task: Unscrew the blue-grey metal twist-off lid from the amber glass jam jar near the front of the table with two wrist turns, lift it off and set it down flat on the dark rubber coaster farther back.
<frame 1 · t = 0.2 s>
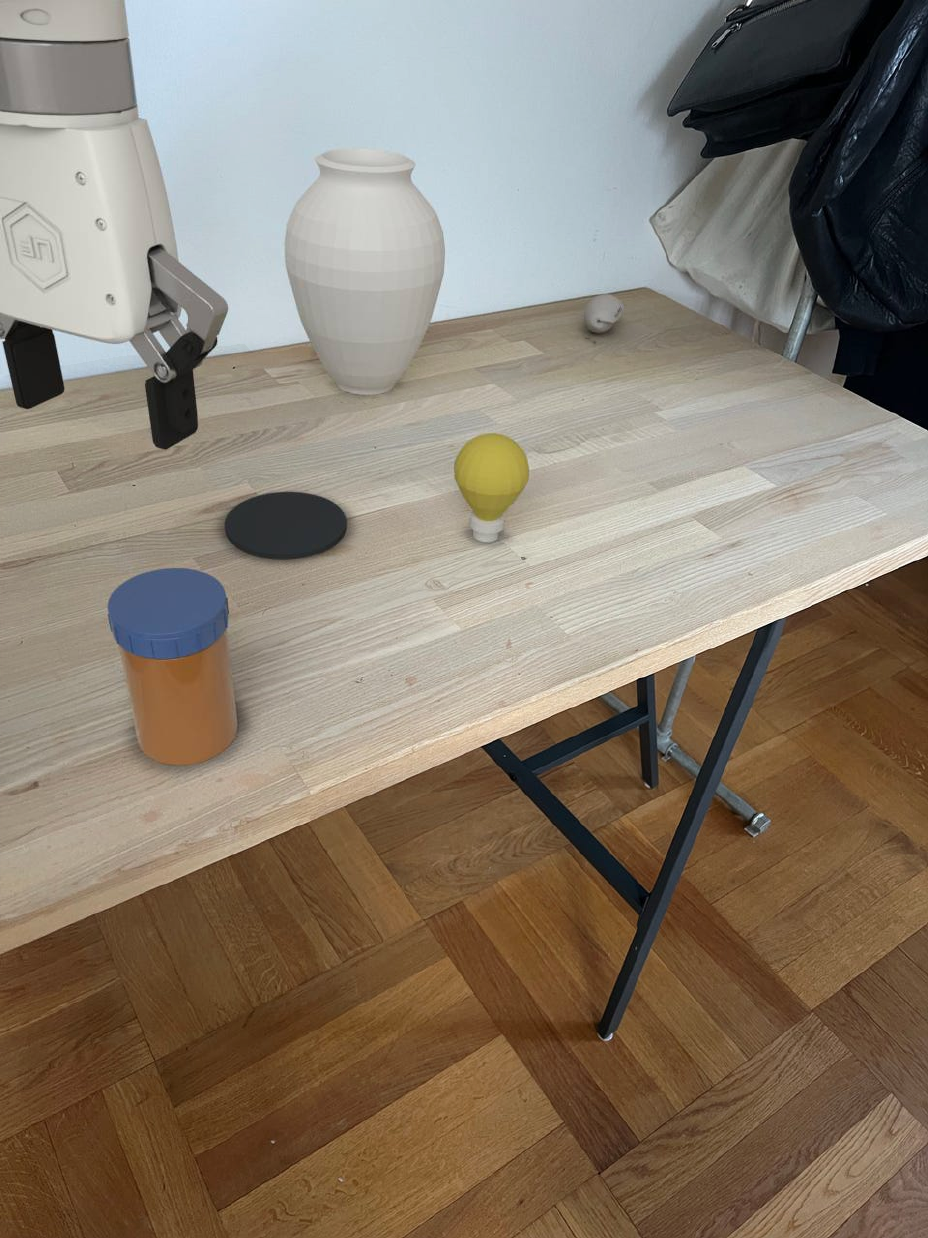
hand: (107, 419, 53), 21 cm above the table, tool pointing down, fingers open, 9 cm apart
stone: (600, 333, 132), on the table
coaster: (286, 526, 85), on the table
vase: (365, 384, 113), on the table
jar: (188, 730, 63), on the table
light bulb: (485, 537, 86), on the table
lid: (168, 604, 57), point 11 cm above the table, screwed on, not yet turned
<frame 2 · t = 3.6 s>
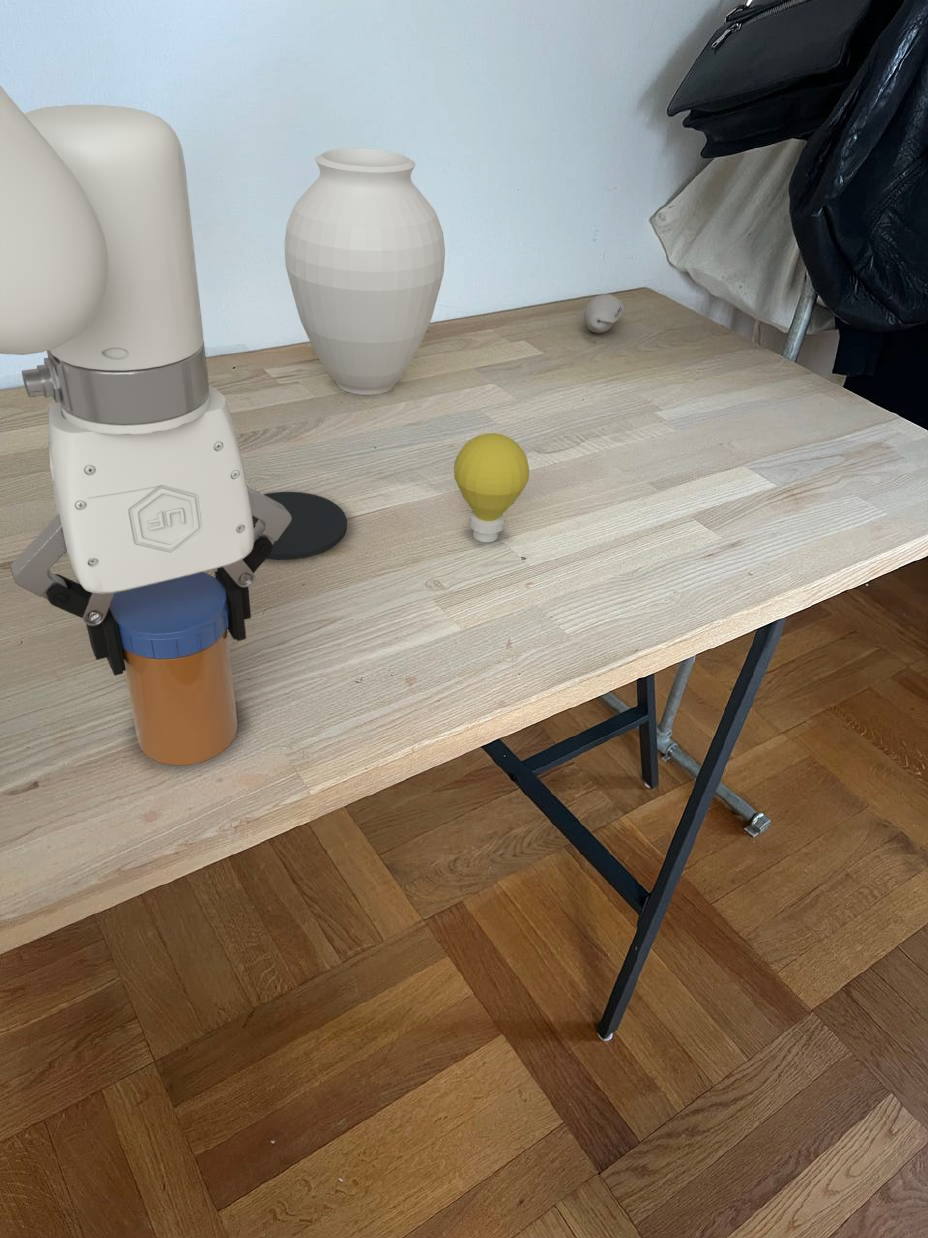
hand: (175, 643, 59), 8 cm above the table, tool pointing down, fingers closed on lid, 7 cm apart
lid: (168, 604, 57), point 11 cm above the table, screwed on, not yet turned, touching gripper
everything else where it was.
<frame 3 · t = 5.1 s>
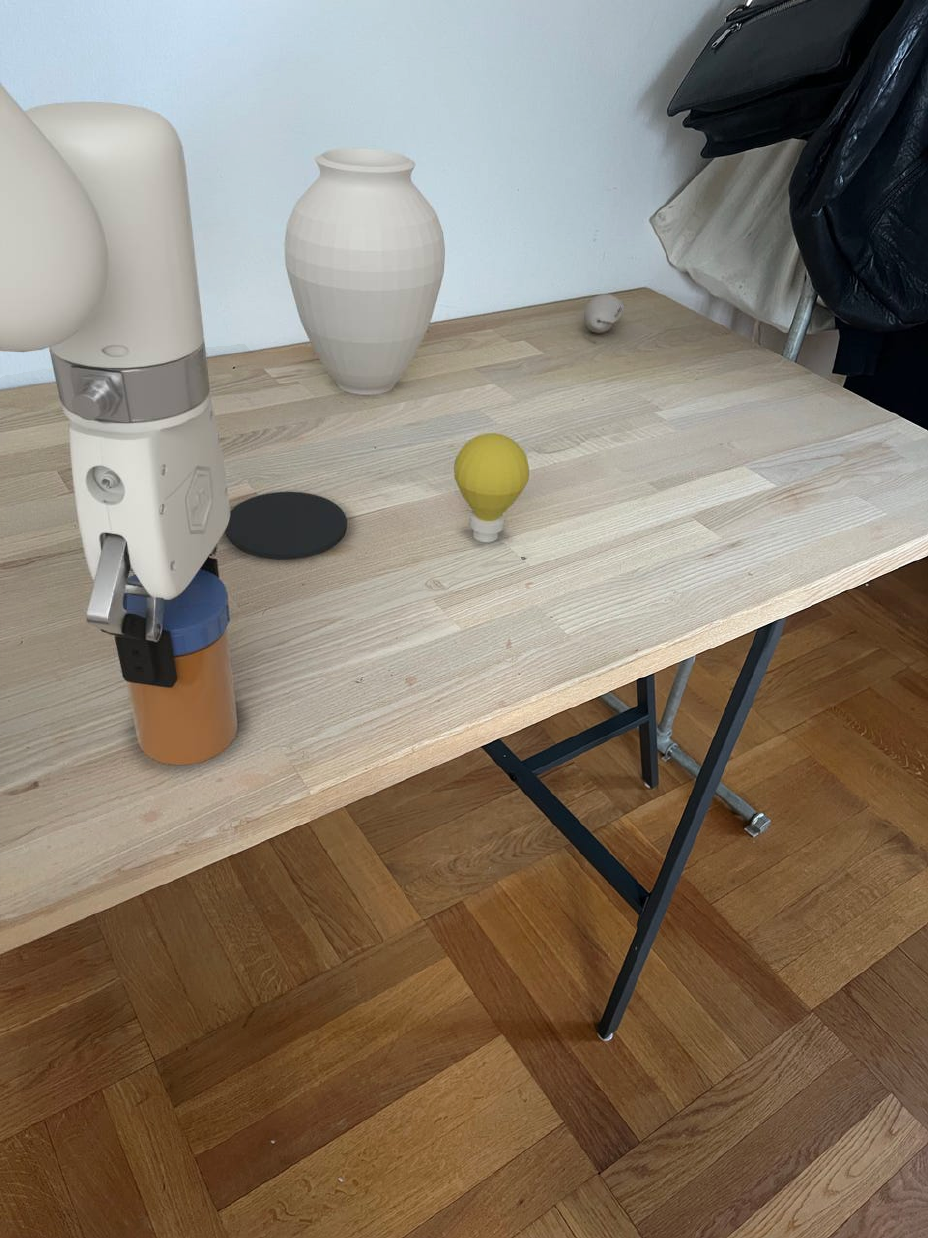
hand: (175, 641, 59), 8 cm above the table, tool pointing down, fingers closed on lid, 7 cm apart
lid: (169, 602, 57), point 11 cm above the table, turned 51° so far, risen 0.1 cm, still on its thread, touching gripper
everything else where it was.
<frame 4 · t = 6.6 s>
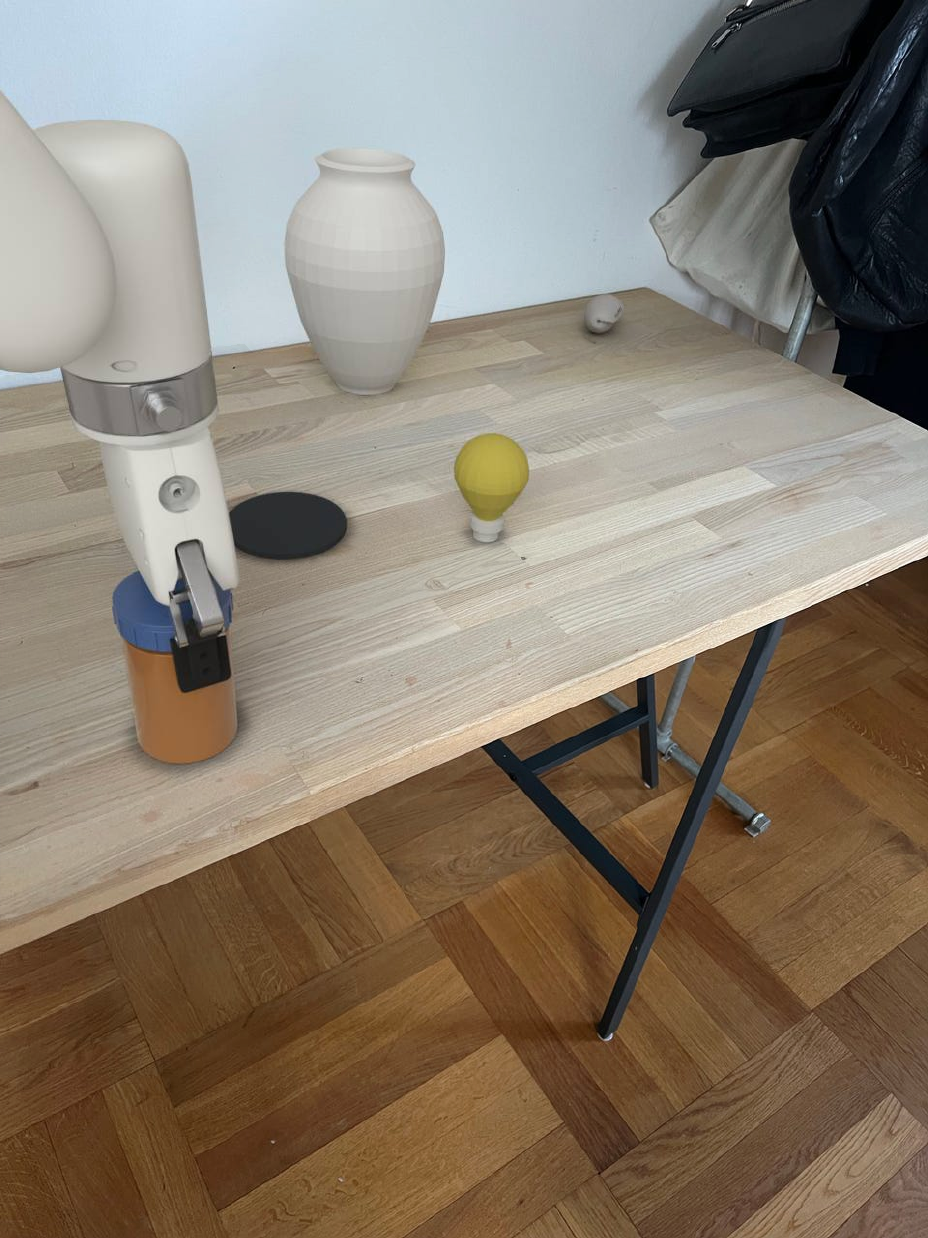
hand: (186, 647, 60), 7 cm above the table, tool pointing down, fingers closed on lid, 6 cm apart
jar: (188, 729, 63), on the table, touching gripper
lid: (173, 598, 57), point 11 cm above the table, turned 90° so far, risen 0.2 cm, still on its thread, touching gripper
everything else where it was.
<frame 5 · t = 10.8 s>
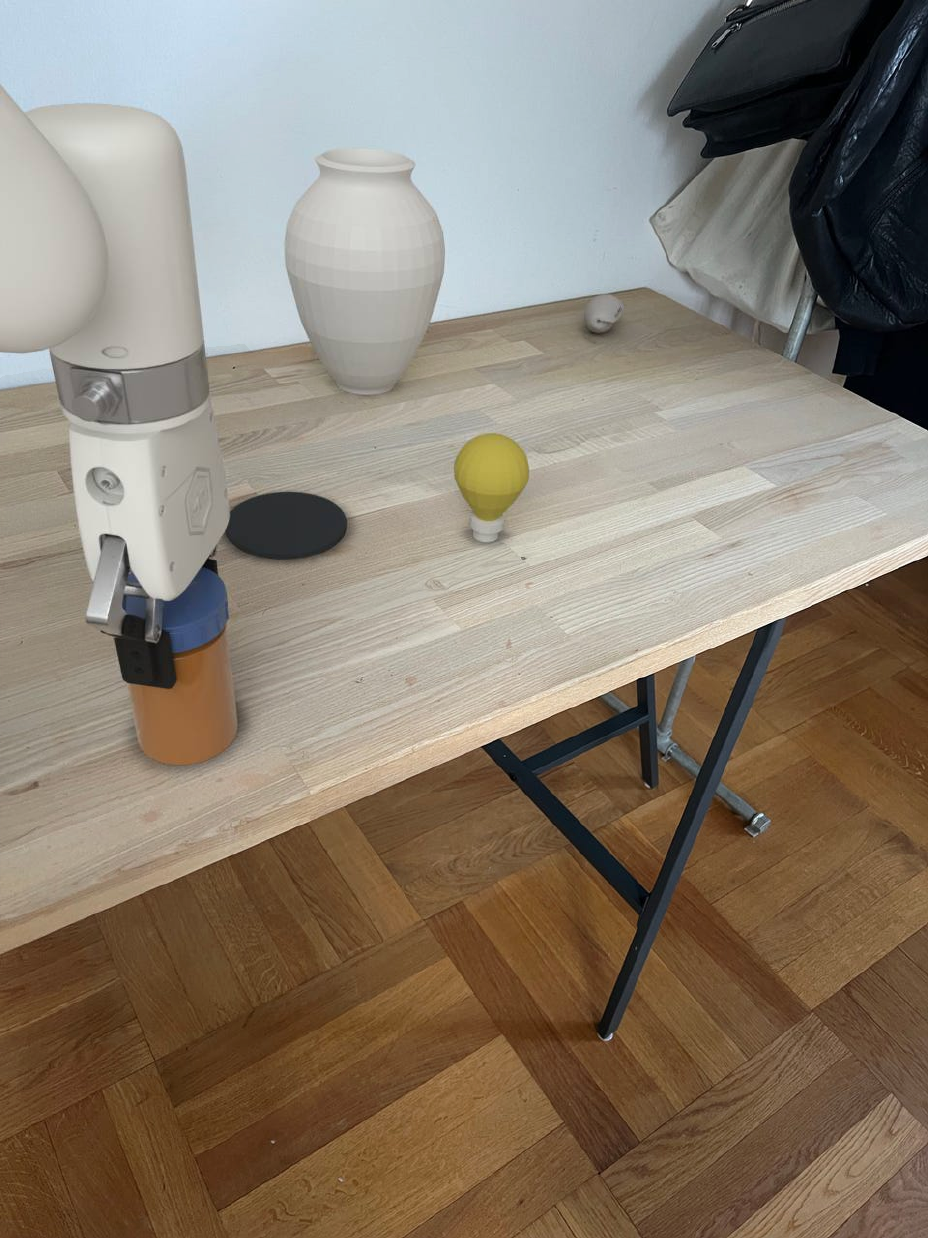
hand: (175, 642, 59), 8 cm above the table, tool pointing down, fingers closed on lid, 7 cm apart
jar: (188, 730, 63), on the table
lid: (168, 599, 57), point 11 cm above the table, turned 141° so far, risen 0.4 cm, still on its thread, touching gripper
everything else where it was.
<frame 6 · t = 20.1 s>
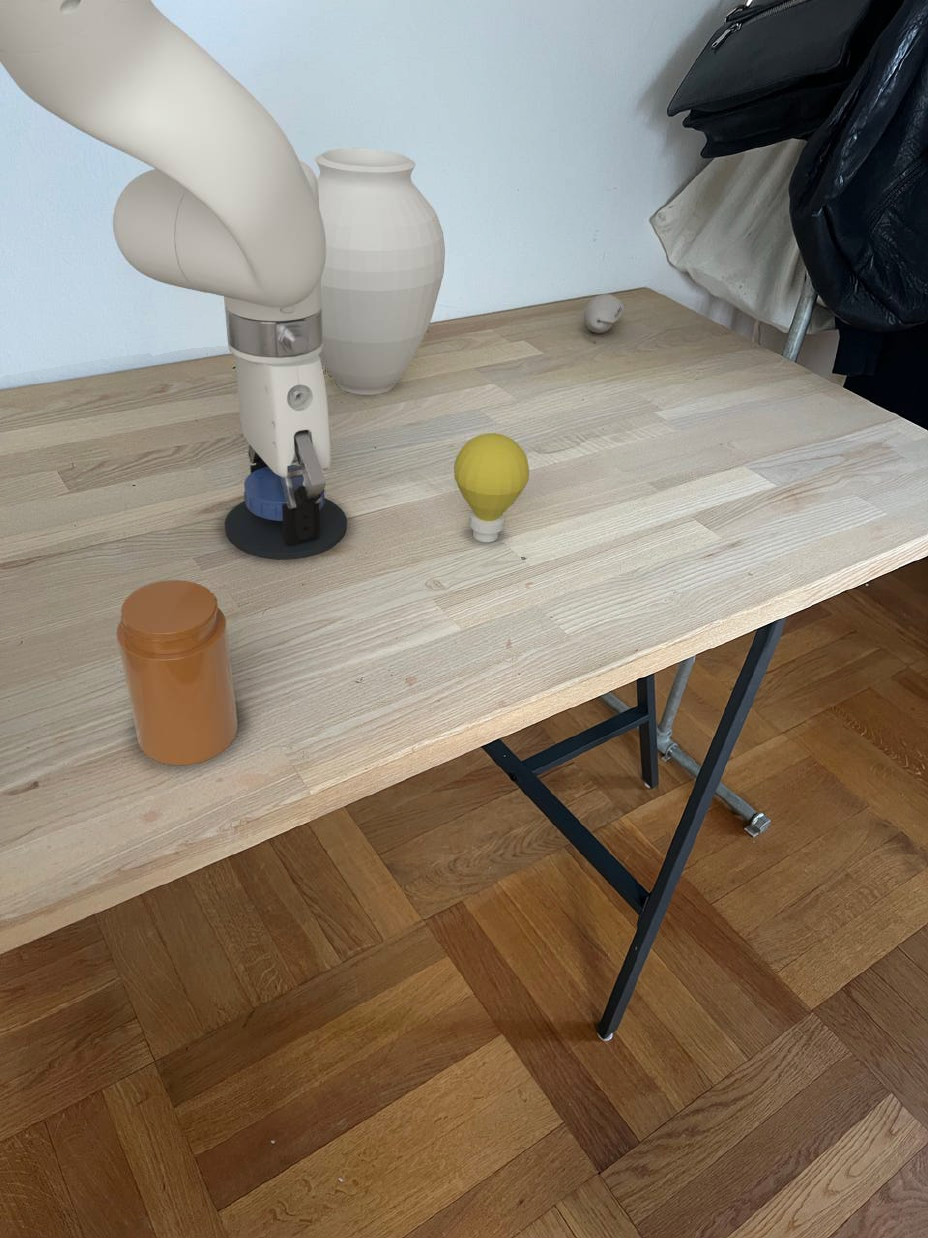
hand: (285, 519, 85), 1 cm above the table, tool pointing down, fingers closed on lid, 7 cm apart
lid: (284, 486, 83), point 4 cm above the table, off its thread, touching gripper
everything else where it was.
when the fingers open (2 cm above the table, at t = 29.6 s): lid drops 3 cm, resting on coaster.
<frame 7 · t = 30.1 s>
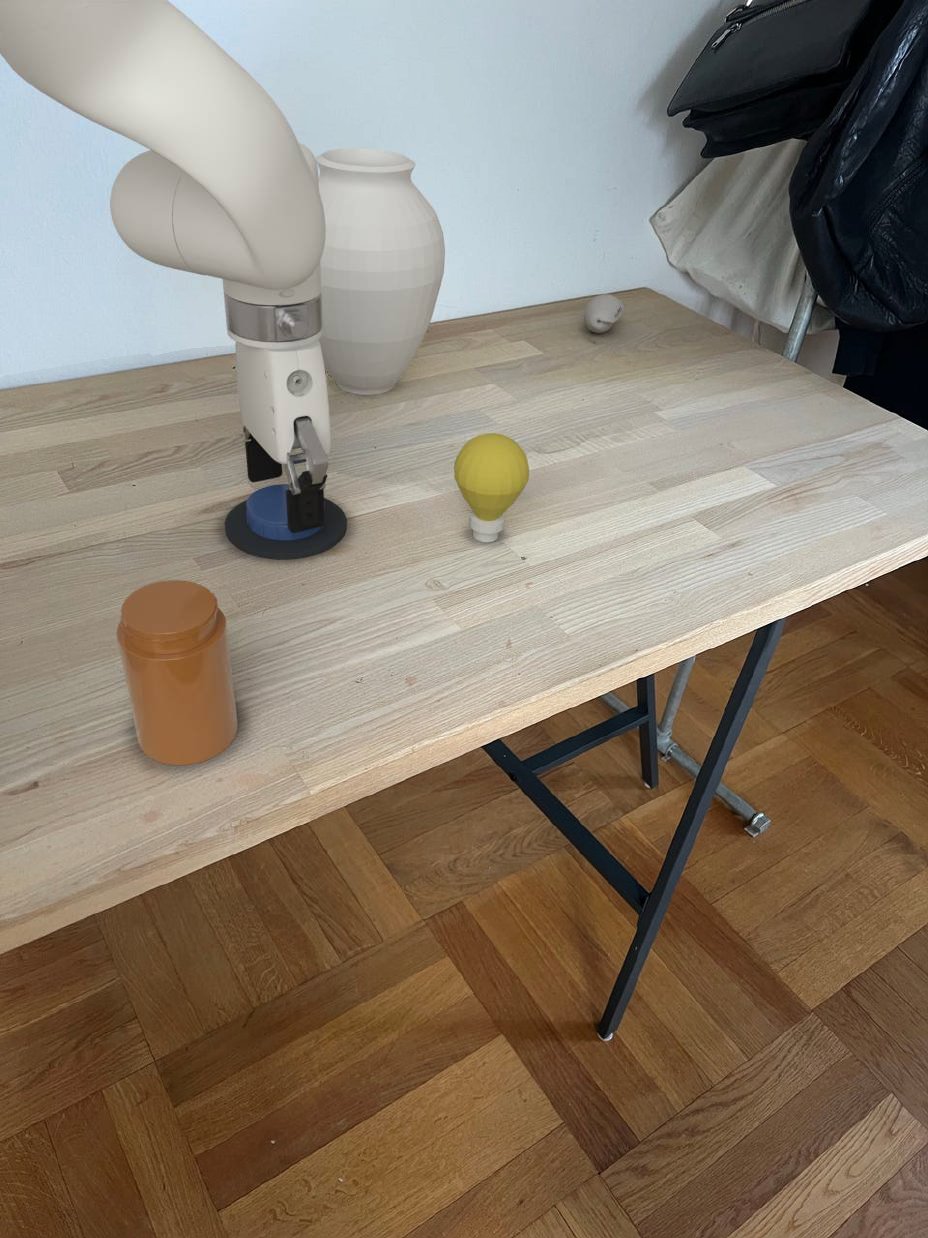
hand: (285, 502, 84), 3 cm above the table, tool pointing down, fingers open, 9 cm apart
lid: (285, 506, 84), point 2 cm above the table, off its thread, touching coaster
everything else where it was.
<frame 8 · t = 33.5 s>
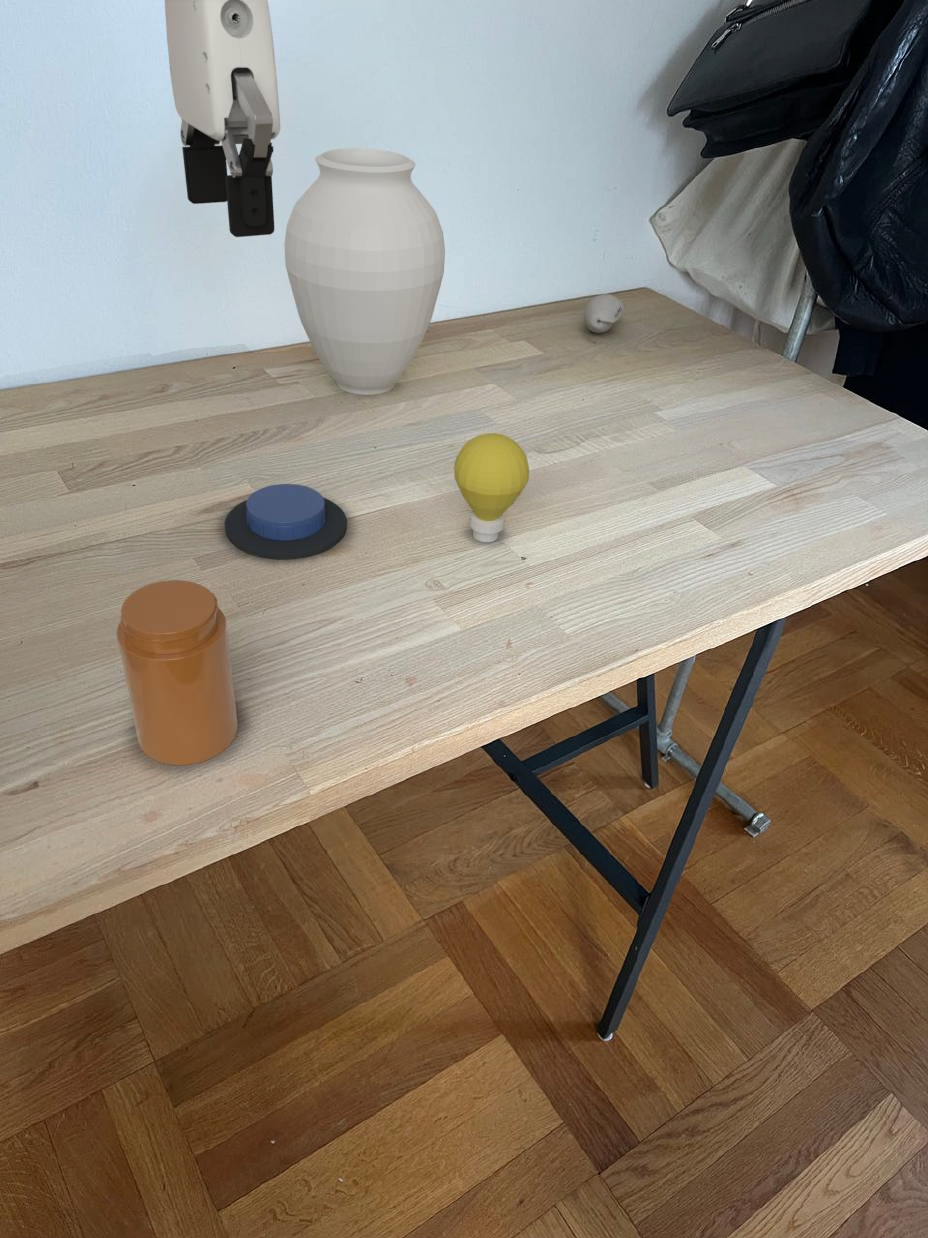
hand: (229, 217, 70), 26 cm above the table, tool pointing down, fingers open, 9 cm apart
nothing on the table moved.
at the end: lid came off its thread; lid inside the target area on the coaster (0.1 cm from its centre), point 2.1 cm above the coaster's base; the gripper is holding nothing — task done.
